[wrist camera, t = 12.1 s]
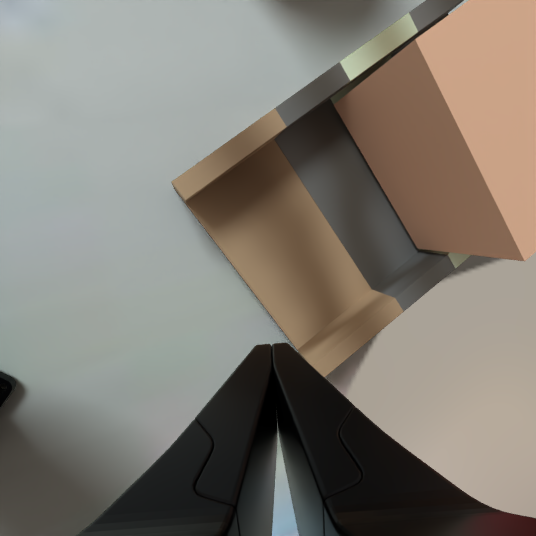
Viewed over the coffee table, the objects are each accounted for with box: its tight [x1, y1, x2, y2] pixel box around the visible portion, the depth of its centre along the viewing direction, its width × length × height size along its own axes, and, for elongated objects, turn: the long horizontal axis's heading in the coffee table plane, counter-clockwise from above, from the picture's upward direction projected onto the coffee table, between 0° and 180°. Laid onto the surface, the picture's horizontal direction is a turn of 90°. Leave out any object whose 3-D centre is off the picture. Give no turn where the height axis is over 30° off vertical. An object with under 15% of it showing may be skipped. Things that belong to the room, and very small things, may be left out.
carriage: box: [334, 0, 536, 261], centre depth 17 cm, size 6×10×7 cm, turn 36°
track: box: [172, 0, 471, 377], centre depth 20 cm, size 19×13×4 cm
